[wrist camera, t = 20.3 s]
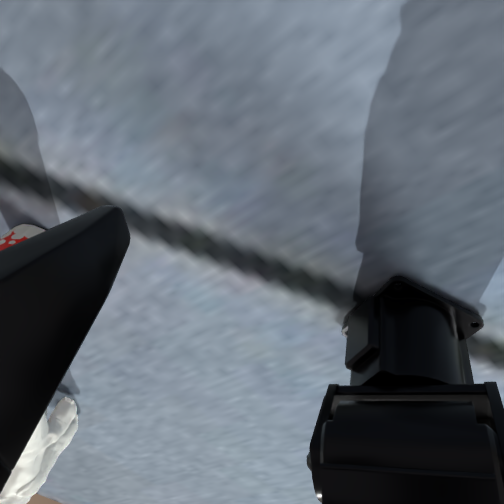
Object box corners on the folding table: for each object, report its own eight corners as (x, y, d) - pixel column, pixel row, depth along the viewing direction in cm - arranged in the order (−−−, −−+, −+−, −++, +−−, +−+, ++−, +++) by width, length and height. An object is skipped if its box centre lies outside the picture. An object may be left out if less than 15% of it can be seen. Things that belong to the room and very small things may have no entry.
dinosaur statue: (29, 421, 55) (-34, 513, 47) (34, 325, 39) (-59, 437, 31) (77, 442, 56) (23, 536, 48) (101, 355, 40) (27, 473, 32)
